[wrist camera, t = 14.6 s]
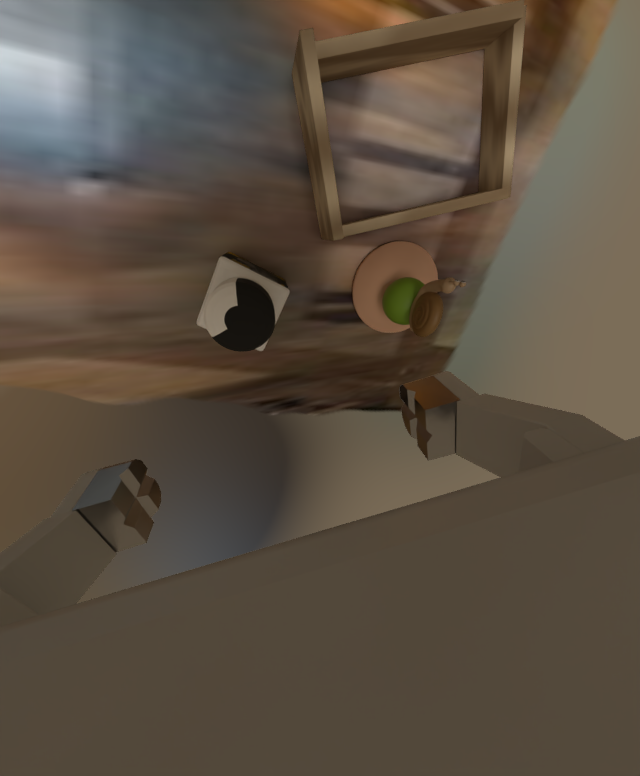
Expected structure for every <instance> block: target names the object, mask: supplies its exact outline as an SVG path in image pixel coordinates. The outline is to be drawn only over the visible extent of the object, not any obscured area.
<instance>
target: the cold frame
mask: <svg viewBox="0 0 640 776" xmlns="http://www.w3.org/2000/svg"><path fill="white" fill-rule="evenodd" d="M525 17H526V5H525V6H524V0H520V1H515V2H510V3H505V4H500V5H495V6H490V7H485V8H480V9H475V10H470V11H465V12H460V13H455V14H450V15H445V16H440V17H435V18H430V19H425V20H420V21H415V22H410V23H405V24H400V25H395V26H390V27H385V28H380V29H375V30H370V31H365V32H360V33H355V34H350V35H346V36H341V37H336V38H331V39H326V40H321V41H316V42H315V38H314V31H313V28H310V29H305V30H300V31H299V37H298V42H297V48H296V53H295V59H294V64H293V70H292V78H293V84H294V89H295V95H296V100H297V106H298V112H299V117H300V123H301V128H302V134H303V139H304V145H305V151H306V156H307V162H308V167H309V173H310V178H311V184H312V189H313V195H314V201H315V206H316V212H317V217H318V223H319V228H320V234H321V239H325V240H332V241H335V240H339V239H343V238H344V237H345V236H350V235H354V234H358V233H362V232H367V231H371V230H375V229H380V228H384V227H388V226H392V225H397V224H401V223H405V222H409V221H414V220H418V219H422V218H426V217H431V216H435V215H439V214H443V213H448V212H452V211H456V210H460V209H465V208H469V207H473V206H477V205H482V204H486V203H490V202H494V201H499V200H503V199H507V198H509V197H510V194H511V182H512V171H513V159H514V147H515V135H516V123H517V111H518V100H519V88H520V76H521V64H522V52H523V40H524V29H525ZM481 49H484V73H483V97H482V121H481V145H480V169H479V192H478V193H474V194H470V195H465V196H461V197H457V198H452V199H448V200H444V201H439V202H435V203H431V204H427V205H422V206H418V207H414V208H409V209H405V210H401V211H396V212H392V213H388V214H384V215H379V216H375V217H371V218H366V219H362V220H358V221H353V222H349V223H345V224H342V221H341V215H340V208H339V201H338V194H337V187H336V181H335V174H334V167H333V160H332V153H331V147H330V140H329V133H328V126H327V120H326V113H325V106H324V99H323V92H322V86H321V83H323V82H327V81H332V80H337V79H342V78H347V77H351V76H356V75H361V74H366V73H371V72H375V71H380V70H385V69H390V68H395V67H399V66H404V65H409V64H414V63H419V62H424V61H428V60H433V59H438V58H443V57H448V56H452V55H457V54H462V53H467V52H472V51H476V50H481Z"/></svg>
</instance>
